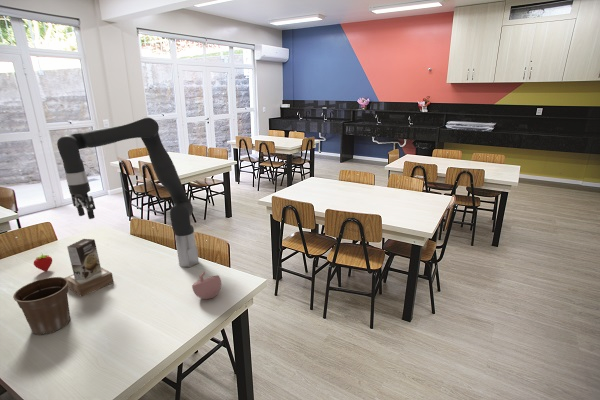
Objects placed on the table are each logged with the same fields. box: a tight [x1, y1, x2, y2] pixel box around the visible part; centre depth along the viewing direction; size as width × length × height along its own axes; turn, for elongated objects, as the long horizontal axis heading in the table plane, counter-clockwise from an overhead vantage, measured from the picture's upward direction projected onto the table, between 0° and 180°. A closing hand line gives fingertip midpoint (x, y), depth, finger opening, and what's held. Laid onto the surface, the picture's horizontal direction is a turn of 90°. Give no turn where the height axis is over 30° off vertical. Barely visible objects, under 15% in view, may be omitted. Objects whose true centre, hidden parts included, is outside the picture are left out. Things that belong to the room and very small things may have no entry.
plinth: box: [64, 267, 115, 298], centre depth 152 cm, size 14×14×5 cm
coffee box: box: [66, 238, 101, 280], centre depth 148 cm, size 9×6×16 cm
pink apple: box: [191, 271, 222, 300], centre depth 140 cm, size 12×12×11 cm
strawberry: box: [33, 253, 53, 272], centre depth 164 cm, size 6×8×10 cm
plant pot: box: [12, 276, 71, 336], centre depth 124 cm, size 16×16×16 cm
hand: (86, 217), depth 147 cm, fingers open, 8 cm apart
